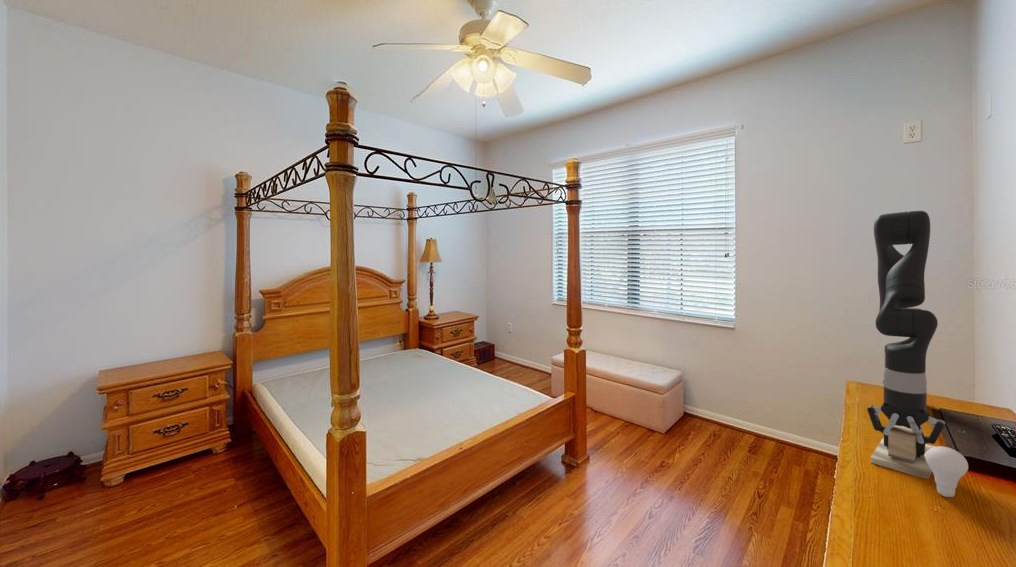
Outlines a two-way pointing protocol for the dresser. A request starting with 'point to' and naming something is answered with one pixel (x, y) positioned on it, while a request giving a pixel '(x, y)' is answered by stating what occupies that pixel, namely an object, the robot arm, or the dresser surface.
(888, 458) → the board
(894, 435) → the block
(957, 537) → the dresser surface
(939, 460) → the lightbulb
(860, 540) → the dresser surface
